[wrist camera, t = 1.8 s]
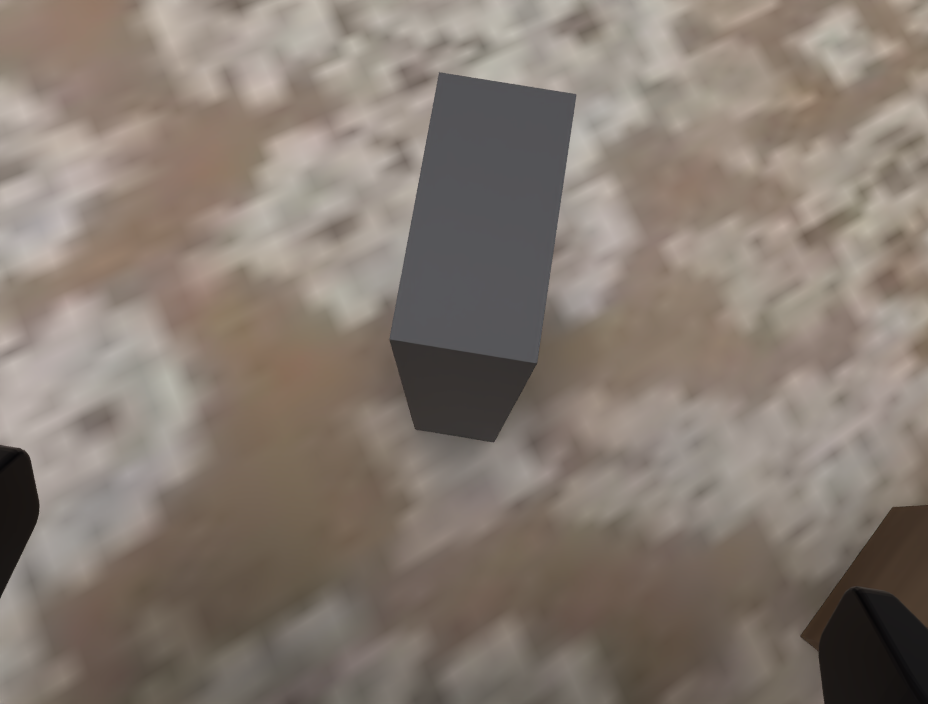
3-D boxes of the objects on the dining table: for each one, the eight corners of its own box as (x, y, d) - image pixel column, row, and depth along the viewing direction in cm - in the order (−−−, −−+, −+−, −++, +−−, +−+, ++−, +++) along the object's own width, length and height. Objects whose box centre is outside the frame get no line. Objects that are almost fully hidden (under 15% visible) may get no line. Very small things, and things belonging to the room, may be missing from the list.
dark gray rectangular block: (517, 290, 22) (576, 94, 12) (493, 442, 21) (536, 363, 11) (441, 278, 22) (439, 72, 12) (415, 429, 21) (389, 339, 11)
